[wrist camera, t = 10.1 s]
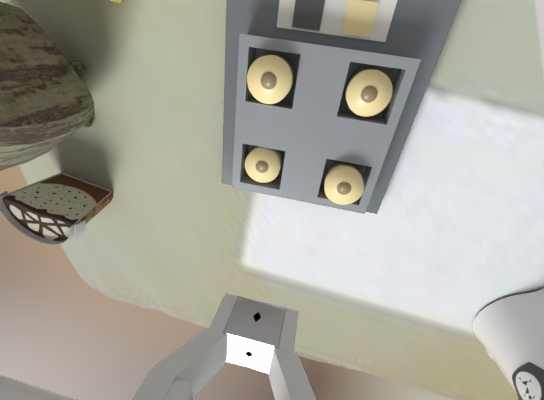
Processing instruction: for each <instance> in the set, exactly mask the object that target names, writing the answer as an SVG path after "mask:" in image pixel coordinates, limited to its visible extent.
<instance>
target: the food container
mask: <svg viewBox="0 0 544 400" xmlns="http://www.w3.org/2000/svg"><path fill="white" fill-rule="evenodd" d="M112 198H113V191H111V190H109V189H106V188H103V187H101V186H98V185H95V184H92V183H90V182H87V181H84V180H81V179H79V178H76V177H73V176H71V175H68V174H65V173H62V172H61V173H59V174H56V175H54V176H51V177H49V178H46V179H43V180H41V181H38V182H36V183H33V184H31V185H28V186H26V187H23V188H21V189H18V190H16V191H13V192H10V193H7V191H5V192H3V193H2V194H0V212H1V213H2V215H3V216H4V217H5V218H6V219H7V220H8V222H9V223H10V224H11V225H13V226H14V227H15V228H16V229H17V230H18V231H20V232H21V233H23V234H25V235H26V236H27V237H29V238H31V239H33V240H35V241H38V242H40V243H44V244H48V245H58V244H62V243H66V242H69V241H71V240H73V239H75V238H77V237H79V236H80V235H81V234H82V233H83V231H84V229H85V225H86V224H87V223H88V222H89V221H90V220H91V219H92V218H93V217H94V216H95V215H96V214H98V213H99V212H100V211H101V210H102V209H103V208H104V207H105V206H106V205H107V204H109V203H110V201H111V200H112Z"/></svg>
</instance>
